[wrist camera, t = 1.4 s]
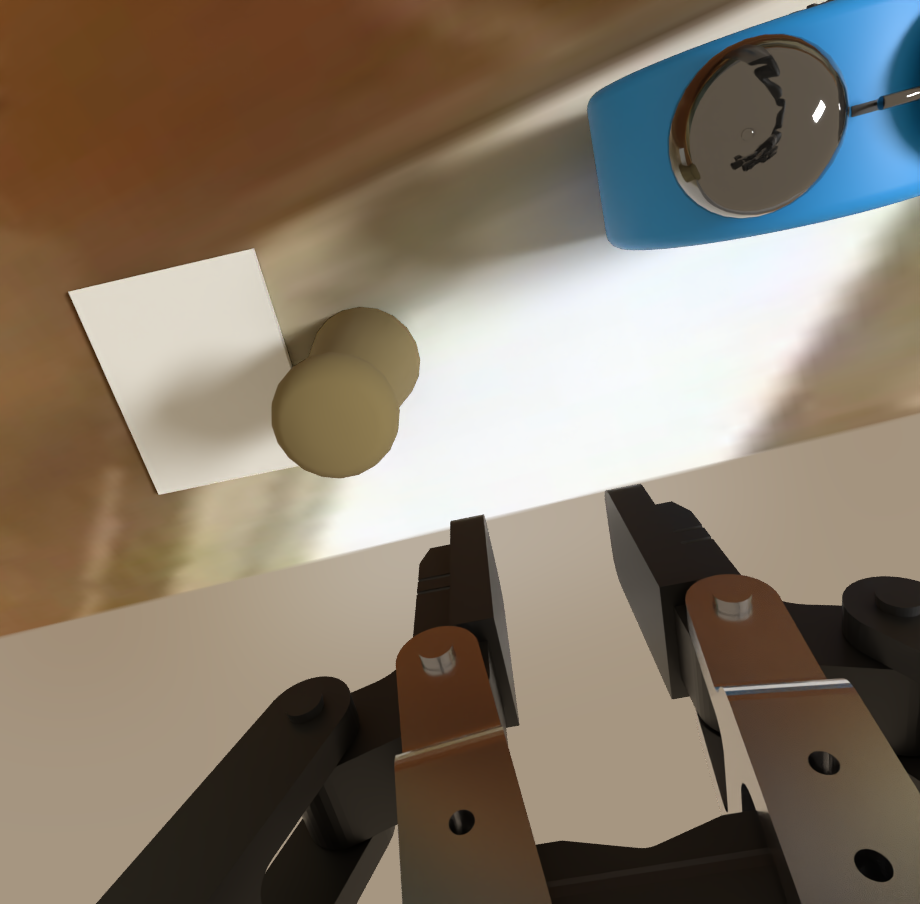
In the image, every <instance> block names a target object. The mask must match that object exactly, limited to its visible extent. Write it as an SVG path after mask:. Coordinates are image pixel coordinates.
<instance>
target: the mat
mask: <svg viewBox="0 0 920 904" xmlns="http://www.w3.org/2000/svg"><path fill="white" fill-rule="evenodd" d="M68 293H69V295H70V297H71V299H72V301H73V304H74V306H75V308H76V310H77V313H78V315H79V317H80V319H81V322H82V324H83V326H84V328H85V331H86V333H87V335H88V337H89V340H90V342H91V344H92V346H93V349H94V351H95V353H96V355H97V358H98V360H99V362H100V364H101V367H102V369H103V371H104V373H105V376H106V378H107V380H108V382H109V384H110V387H111V389H112V391H113V393H114V396H115V398H116V400H117V402H118V405H119V407H120V409H121V411H122V414H123V416H124V418H125V420H126V423H127V425H128V427H129V429H130V432H131V434H132V436H133V438H134V441H135V443H136V445H137V447H138V450H139V452H140V454H141V456H142V459H143V461H144V463H145V465H146V467H147V470H148V472H149V474H150V476H151V479H152V481H153V483H154V485H155V488H156V490H157V492H158V494H159V495H160V494H165V493H170V492H175V491H179V490H184V489H189V488H194V487H199V486H204V485H208V484H213V483H218V482H223V481H228V480H232V479H237V478H242V477H247V476H252V475H257V474H261V473H266V472H271V471H276V470H281V469H285V468H290V467H295V466H298V465H297V464H296V463H295V462H293V461H292V460H291V459H289V458H288V456H287V455H286V454H285V452H284V451H283V450H282V448H281V447H280V446H279V444H278V443H277V440H276V437H275V434H274V431H273V428H272V420H271V406H272V400H273V397H274V395H275V392H276V389H277V386H278V384H279V383H280V381H281V380H282V379H283V378H284V377H285V375H286V374H287V373H288V372H289V370H290V369H291V368H292V364H291V361H290V357H289V354H288V351H287V348H286V345H285V342H284V339H283V336H282V333H281V330H280V327H279V324H278V321H277V318H276V314H275V311H274V308H273V305H272V302H271V299H270V296H269V293H268V290H267V287H266V284H265V281H264V278H263V275H262V272H261V268H260V265H259V262H258V259H257V256H256V253H255V250H254V249H250V250H245V251H241V252H237V253H232V254H228V255H224V256H220V257H215V258H211V259H207V260H203V261H198V262H194V263H190V264H185V265H181V266H177V267H173V268H168V269H164V270H160V271H155V272H151V273H147V274H143V275H138V276H134V277H130V278H126V279H121V280H117V281H113V282H108V283H104V284H100V285H96V286H91V287H87V288H83V289H78V290H74V291H70V292H68Z"/></svg>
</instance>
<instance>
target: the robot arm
mask: <svg viewBox="0 0 920 904" xmlns="http://www.w3.org/2000/svg"><path fill="white" fill-rule="evenodd" d="M605 503H606V510H607V516H608V524H609V531H610V539H611V546H612V552H613V559H614V563H615V568H616V571H617V575H618V578H619V581H620V583H621V586H622V588H623V591H624V593H625V595H626V597H627V599H628V602H629V604H630V606H631V608H632V611H633V613H634V615H635V618H636V620H637V622H638V624H639V627H640V629H641V631H642V633H643V636H644V638H645V640H646V642H647V645H648V647H649V649H650V651H651V653H652V656H653V658H654V660H655V663H656V665H657V667H658V669H659V672H660V674H661V676H662V678H663V680H664V683H665V685H666V687H667V689H668V691H669V694H670V696H671V698H672V699H677V698H682V697H688V696H690V698H691V700H692V702H693V704H694V706H695V709H696V720H697V729H698V734H699V737H700V741H701V745H702V748H703V751H704V755H705V759H706V762H707V766H708V769H709V773H710V776H711V780H712V783H713V787H714V790H715V794H716V798H717V801H718V804H719V808H720V812H721V815H722V816H720V817H718V818H715V819H713V820H711V821H709V822H707V823H704V824H703V825H700V826H698V827H696V828H693V829H691V830H689V831H687V832H685V833H682V834H680V835H678V836H676V837H674V838H671V839H669V840H667V841H665V842H663V843H660V844H658V845H656V846H653V847H649V848H632V847H621V846H611V845H601V844H590V843H580V842H570V841H557V842H550V843H544V844H538V845H535V841H534V838H533V834H532V830H531V827H530V823H529V820H528V816H527V812H526V809H525V805H524V802H523V798H522V795H521V791H520V787H519V784H518V780H517V777H516V773H515V769H514V766H513V762H512V759H511V756H510V752H509V749H508V741H507V732H506V728H507V727H512V726H519V718H518V711H517V703H516V695H515V688H514V680H513V672H512V665H511V657H510V649H509V642H508V634H507V626H506V619H505V611H504V603H503V598H502V592H501V587H500V582H499V577H498V572H497V568H496V564H495V559H494V555H493V550H492V546H491V542H490V537H489V533H488V529H487V524H486V520H485V516H484V515H479V516H474V517H469V518H464V519H459V520H454V521H451V522H450V545H445V546H440V547H435V548H430V550H429V551H428V553H427V554H426V555H425V557H424V558H423V560H422V561H421V563H420V565H419V577H418V580H419V582H418V589H417V594H418V595H417V599H416V610H415V622H414V634H413V638H412V639H411V640H409V641H408V642H407V643H406V644H405V645H404V646H403V647H402V649H401V650H400V652H399V654H398V656H397V659H396V670H395V671H394V672H392V673H391V674H390V675H388V676H386V677H385V678H383V679H381V680H379V681H377V682H375V683H373V684H370V685H368V686H366V687H364V688H361V689H359V690H357V691H354V692H352V693H350V690H349V688H348V687H347V685H346V684H345V683H344V682H343V681H341V680H339V679H337V678H333V677H316V678H311V679H308V680H305V681H302V682H300V683H298V684H296V685H294V686H292V687H290V688H289V689H287V690H286V691H284V692H283V693H282V694H281V695H280V696H278V697H277V698H276V699H275V700H274V701H273V702H272V704H271V705H270V706H269V707H268V708H267V709H266V711H265V712H264V713H263V714H262V715H261V716H260V717H259V718H258V720H257V721H256V722H255V723H254V724H253V725H252V726H251V728H250V729H249V730H248V731H247V732H246V733H245V734H244V736H243V737H242V738H241V739H240V740H239V741H238V742H237V743H236V745H235V746H234V747H233V748H232V749H231V751H230V752H229V753H228V754H227V755H226V756H225V757H224V758H223V760H222V761H221V762H220V763H219V764H218V765H217V766H216V767H215V769H214V770H213V771H212V772H211V773H210V774H209V775H208V777H207V778H206V779H205V780H204V781H203V782H202V783H201V785H200V786H199V787H198V788H197V789H196V790H195V791H194V793H193V794H192V795H191V796H190V797H189V798H188V799H187V801H186V802H185V803H184V804H183V805H182V806H181V808H180V809H179V810H178V811H177V812H176V813H175V814H174V815H173V816H172V818H171V819H170V820H169V821H168V822H167V823H166V824H165V826H164V827H163V828H162V829H161V830H160V831H159V832H158V834H157V835H156V836H155V837H154V838H153V839H152V841H151V842H150V843H149V844H148V845H147V846H146V847H145V848H144V850H143V851H142V852H141V853H140V854H139V855H138V857H137V858H136V859H135V860H134V861H133V862H132V863H131V864H130V866H129V867H128V868H127V869H126V870H125V871H124V872H123V874H122V875H121V876H120V877H119V878H118V879H117V880H116V882H115V883H114V884H113V885H112V886H111V887H110V888H109V890H108V891H107V892H106V893H105V894H104V895H103V896H102V898H101V899H100V900H99V901H98V902H97V903H96V904H357V902H358V900H359V898H360V896H361V894H362V893H363V891H364V889H365V887H366V885H367V883H368V882H369V880H370V878H371V876H372V874H373V872H374V870H375V869H376V867H377V865H378V863H379V861H380V859H381V857H382V856H383V854H384V852H385V850H386V848H387V846H388V845H389V843H390V840H391V838H392V836H393V832H394V829H395V825H397V824H398V838H399V855H400V871H401V886H402V887H401V889H402V904H920V582H919V581H915V580H911V579H906V578H900V577H886V576H881V577H871V578H865V579H862V580H859V581H856V582H855V583H852V584H851V585H849V586H848V587H847V588H846V590H845V591H844V593H843V596H842V606H835V605H834V606H833V605H805V604H794V603H788V602H783V601H782V600H781V598H780V596H779V595H778V594H777V592H776V591H775V590H774V589H773V588H772V587H770V586H769V585H768V584H766V583H764V582H762V581H760V580H758V579H755V578H751V577H748V576H743V575H741V574H740V573H739V572H738V571H737V569H736V568H735V567H734V565H733V564H732V563H731V562H730V561H729V559H728V558H727V557H726V555H725V554H724V553H723V551H722V550H721V549H720V548H719V546H718V545H717V544H716V542H715V541H714V540H713V539H711V536H710V535H709V534H708V532H707V531H706V530H705V528H702V524H701V523H700V522H699V521H698V519H697V518H696V517H695V516H694V514H693V513H692V512H691V511H690V510H688V509H686V508H684V507H682V506H680V505H678V504H676V503H673V502H672V501H671V502H667V503H661V504H656V505H655V504H654V502H653V501H652V499H651V498H650V496H649V495H648V493H647V492H646V491H645V489H644V487H643V486H642V485H641V484H637V485H631V486H626V487H621V488H616V489H611V490H606V491H605ZM301 816H302V817H303V819H302V820H301V822H300V823H299V825H298V826H297V828H296V829H295V830H294V832H293V833H292V835H291V836H290V838H289V839H288V841H287V842H286V844H285V845H284V847H283V848H282V849H281V851H280V852H279V854H278V855H277V857H276V858H275V860H274V861H273V863H272V864H271V865H270V867H269V868H268V870H267V871H266V869H267V867H268V865H269V863H270V862H271V860H272V858H273V857H274V855H275V854H276V853H277V851H278V850H279V848H280V847H281V845H282V844H283V843H284V841H285V840H286V838H287V837H288V835H289V834H290V832H291V831H292V830H293V828H294V827H295V825H296V824H297V822H298V820H299V819H300V818H301ZM265 872H266V873H265Z"/></svg>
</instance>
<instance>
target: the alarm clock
mask: <svg viewBox="0 0 920 904" xmlns="http://www.w3.org/2000/svg"><path fill="white" fill-rule="evenodd" d="M587 113H588V120H589V126H590V132H591V139H592V145H593V152H594V158H595V165H596V171H597V178H598V184H599V191H600V197H601V203H602V210H603V216H604V223H605V229H606V235H607V238H608V241H609V242H610V243H611V244H612V245H613V246H615V247H618V248H621V249H625V250H653V249H666V248H676V247H685V246H693V245H701V244H708V243H715V242H721V241H727V240H733V239H739V238H745V237H751V236H756V235H762V234H767V233H772V232H777V231H782V230H787V229H792V228H796V227H801V226H806V225H810V224H815V223H819V222H824V221H828V220H832V219H837V218H841V217H845V216H849V215H853V214H857V213H861V212H865V211H868V210H872V209H876V208H880V207H883V206H887V205H890V204H894V203H897V202H901V201H904V200H907V199H910V198H914V197H917V196H920V0H828V1H826V2H823V3H821V4H811V5H809V6H807V9H804V10H800V11H797V12H793V13H791V14H789V15H786V16H783V17H780V18H777V19H774V20H771V21H768V22H765V23H762V24H759V25H756V26H753V27H750V28H748V29H745V30H742V31H739V32H736V33H733V34H731V35H728V36H725V37H722V38H719V39H717V40H714V41H711V42H708V43H706V44H703V45H700V46H698V47H695V48H692V49H690V50H687V51H685V52H682V53H680V54H677V55H674V56H672V57H669V58H667V59H664V60H662V61H660V62H657V63H655V64H652V65H650V66H648V67H645V68H643V69H641V70H638V71H636V72H634V73H632V74H630V75H627V76H625V77H623V78H621V79H619V80H617V81H615V82H613V83H611V84H610V85H608V86H606V87H604V88H602V89H601V90H599V91H598V92H596V93H595V94H594V95H593V96H592V98H591V99H590V101H589V103H588V106H587Z"/></svg>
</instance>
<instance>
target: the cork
mask: <svg viewBox="0 0 920 904" xmlns="http://www.w3.org/2000/svg"><path fill="white" fill-rule="evenodd" d="M419 366H420V357H419V353H418V349H417V345H416V342H415V340H414V339H413V337H412V335H411V334H410V332H409V330H408V329H407V327H405V326H404V325H403V324H402V323H401V322H400V321H399V320H397V319H396V318H395V317H394V316H392V315H390V314H388V313H385V312H383V311H381V310H379V309H374V308H365V307H357V308H352V309H348V310H343V311H341V312H339V313H338V314H336V315H334V316H333V317H331V318H329V319H328V320H327V321H326V322H325V323H324V325H323V326H322V327H321V328H320V330H319V331H318V332H317V334H316V337H315V340H314V342H313V345H312V348H311V351H310V354H309V357H308V358H307V359H305V360H303V361H302V362H300V363H298V364H297V365H295V366H294V367H292V368H291V369H290V370H289V372H288V373H287V374H286V375H285V377H284V378H283V379H282V380H281V381H280V383H279V384H278V386H277V389H276V392H275V395H274V397H273V400H272V406H271V420H272V428H273V431H274V434H275V437H276V440H277V443H278V444H279V446H280V447H281V448H282V450H283V451H284V452H285V454H286V455H287V456H288V458H289V459H291V460H292V461H293V462H295V463H296V464H297V465H298V466H300V467H301V468H302V469H304V470H306V471H309V472H311V473H314V474H316V475H319V476H322V477H331V478H345V477H350V476H355V475H359V474H361V473H363V472H364V471H366V470H368V469H370V468H372V467H374V466H375V465H376V464H377V463H378V462H379V461H380V460H381V459H382V458H383V457H384V456H385V455H386V454H387V453H388V452H389V451H390V449H391V447H392V444H393V442H394V440H395V438H396V435H397V433H398V426H399V412H400V410H399V407H400V406H401V405H402V403H403V402H404V401H405V399H406V398H407V397H408V396H409V394H410V393H411V392H412V390H413V388H414V386H415V383H416V381H417V379H418V376H419Z"/></svg>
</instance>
